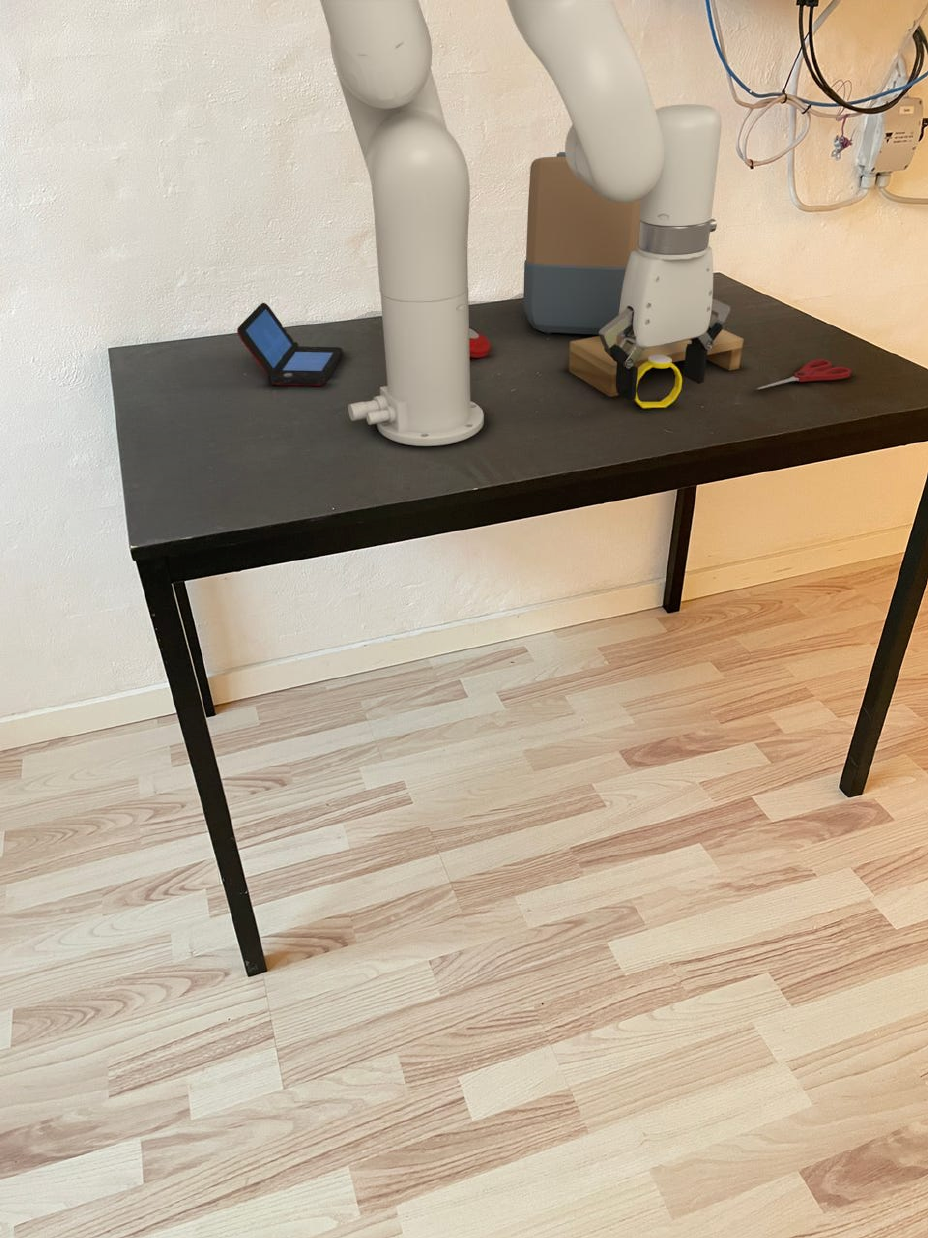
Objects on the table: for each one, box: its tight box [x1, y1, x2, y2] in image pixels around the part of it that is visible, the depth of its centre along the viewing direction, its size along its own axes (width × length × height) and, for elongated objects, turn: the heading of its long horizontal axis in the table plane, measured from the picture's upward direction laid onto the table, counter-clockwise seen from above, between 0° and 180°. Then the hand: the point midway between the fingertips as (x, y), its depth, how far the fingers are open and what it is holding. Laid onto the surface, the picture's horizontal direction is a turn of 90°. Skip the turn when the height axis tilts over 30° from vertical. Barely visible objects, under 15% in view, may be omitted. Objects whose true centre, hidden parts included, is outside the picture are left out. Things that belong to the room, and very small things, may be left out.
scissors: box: [756, 358, 852, 390], centre depth 113 cm, size 5×14×1 cm, turn 119°
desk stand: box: [568, 328, 744, 398], centre depth 116 cm, size 20×10×4 cm, turn 115°
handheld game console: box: [236, 302, 344, 387], centre depth 118 cm, size 12×11×7 cm
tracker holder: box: [469, 326, 491, 359], centre depth 125 cm, size 12×4×10 cm
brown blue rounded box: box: [522, 151, 641, 336], centre depth 127 cm, size 17×17×23 cm
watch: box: [633, 355, 683, 409], centre depth 106 cm, size 6×3×6 cm, turn 100°
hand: (659, 388), depth 107 cm, fingers open, 9 cm apart
